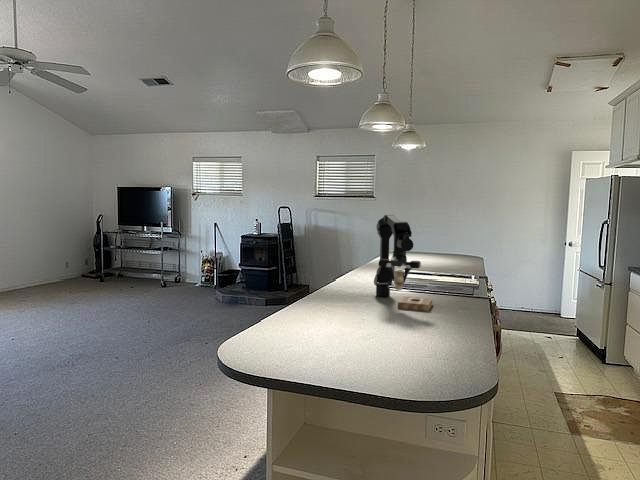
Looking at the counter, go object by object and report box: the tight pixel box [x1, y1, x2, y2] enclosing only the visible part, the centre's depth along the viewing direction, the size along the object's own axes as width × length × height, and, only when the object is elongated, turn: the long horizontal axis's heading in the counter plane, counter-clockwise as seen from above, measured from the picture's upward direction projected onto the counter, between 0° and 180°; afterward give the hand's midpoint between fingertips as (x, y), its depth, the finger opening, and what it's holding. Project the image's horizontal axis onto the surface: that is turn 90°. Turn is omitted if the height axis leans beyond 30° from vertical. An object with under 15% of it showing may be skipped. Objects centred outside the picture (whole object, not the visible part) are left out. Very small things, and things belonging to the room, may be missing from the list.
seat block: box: [397, 295, 433, 312], centre depth 216 cm, size 14×14×3 cm
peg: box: [393, 269, 405, 291], centre depth 210 cm, size 5×5×8 cm
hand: (399, 281), depth 211 cm, fingers closed on peg, 5 cm apart
